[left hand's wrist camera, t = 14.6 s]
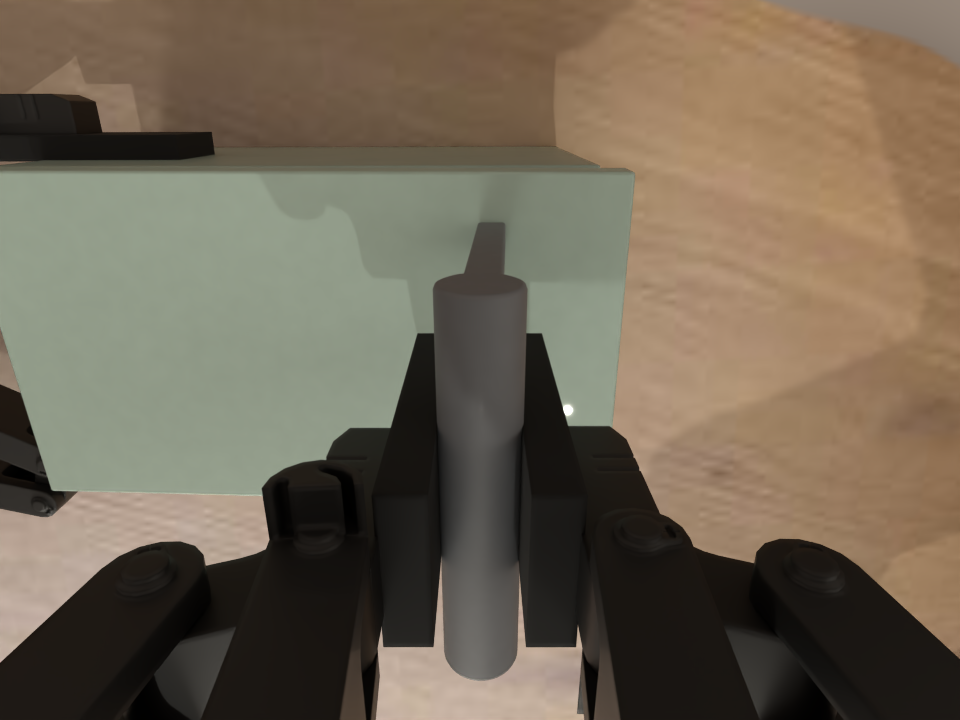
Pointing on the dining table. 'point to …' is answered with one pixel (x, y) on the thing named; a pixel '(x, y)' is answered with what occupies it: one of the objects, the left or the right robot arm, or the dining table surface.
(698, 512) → the dining table surface
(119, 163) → the chest
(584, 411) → the lid
